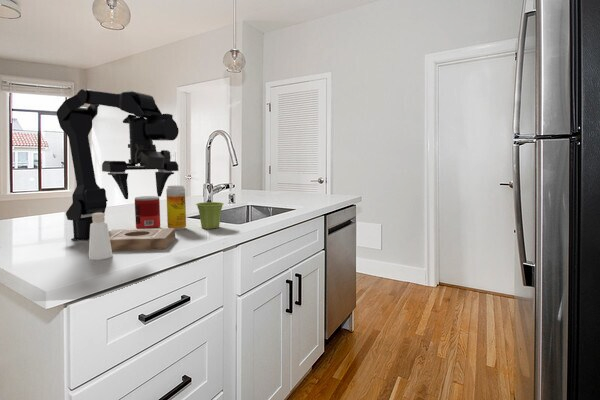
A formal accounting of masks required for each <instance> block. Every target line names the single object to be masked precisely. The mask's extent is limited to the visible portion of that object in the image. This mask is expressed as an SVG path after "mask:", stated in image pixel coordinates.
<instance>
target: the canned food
mask: <svg viewBox="0 0 600 400" xmlns="http://www.w3.org/2000/svg"><path fill="white" fill-rule="evenodd" d="M160 201H161V200H160V197H158V195H145V196H136V197H134V213H135V215H134V216H135V218H134V219H135V229H158V228H160V227H161V207H160V206H161V205H160V203H161V202H160Z"/></svg>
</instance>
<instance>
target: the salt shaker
mask: <svg viewBox="0 0 600 400" xmlns="http://www.w3.org/2000/svg"><path fill="white" fill-rule="evenodd" d="M105 215H106V214H105V213H93V214H92V220H93V223H91V224H90V240H88V241H89V246H88V259H89V261H90V260H91V261H100V260H108V259H109V258H113V257H114V256H113V255H114V254H113V251H112V249H111V243H110V237H109V225H108V223H107V222H106V220H105Z"/></svg>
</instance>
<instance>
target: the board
mask: <svg viewBox="0 0 600 400" xmlns="http://www.w3.org/2000/svg"><path fill="white" fill-rule="evenodd" d="M108 231H109V230H108ZM109 237H110V243H111V249H112V252H113V251H114V252H115V251H120V252H121V251H144V250H145V251H146V250H148V251H149V250H151V251H152V250H166V249H167V248H168V247H169V246H170V245H171V243H172V242H173V241H174V240H175V239H176V230H175V228H168V227H166V228H165V227H163V228H162V227H161V228H158V229H137V228H131V229H130V228H121V229H120V228H119V229H115V228H114V229H110V231H109Z"/></svg>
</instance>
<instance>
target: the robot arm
mask: <svg viewBox="0 0 600 400" xmlns="http://www.w3.org/2000/svg"><path fill="white" fill-rule="evenodd" d="M86 104H88V105H89V106H88V107H84V105H86ZM100 106H105V107H111V108H118V109H120V111H123V112H126V113H128V115H127V116H126V117H125V118H124V119H122V123H123V124H127V125H128V129H129V143H128V144H127V148H128V149H129V151H130V152H129V153H130V154H129V155H130V158H129V159H128V163H127V162H126V161H125V160H104V161H103V162H102V164H101V171H102V172H104V173H107V175H108V176H111V177H112V178H113V180H114V182H116V184H117V187H118V188H119V190H120V192H121V194H122V195H123V198H124V199H125V200H128V199H129V188H128V177H129V173H126V171H128V170H131V171H134V170H135V171H137V170H139V171H142V170H145V171H146V170H157V171H155V172H154V173H155V174H154V175H155V185H156V194H157V195H156V196H158V197H159V198H160V197H162V194H163V193H164V192H163V191H164V189H165V185H166V182H167V181H168V179H169V178H170V177H171V176H172V175H174V174H175V172H179V163H178V162H177V161H175V160H172V161H171V158H172V157H171V151H169V150H167V149H166V150H165V149H162V150H160V151H157V146H156V144H154V141H175V140H176V139H177V138H178V135H179V132H180V131H179V130H180V129H179V127H178V123H177V121H175V120H174V119H173V117H174V116H173V114H171V113H162V112H161V110H160V109H159V107H158V105H157V104H156V100H155V98H154V97H153V96H152V95H150V94H146V93H141V92H137V91H133V90H131V91H129V90H128V91H122V92H121V93H112V92H106V91H98V90H93V89H89V88H82V89H80V90H79V91H78V92H77V93H76V94H74V95H72V96H71V97H69V98H67V99H65V100H64V101H63V102H62V103H61V104H60V106H59V107H58V108H57V110H56V117H57V120H58V123H59V126H60V127H59V128H60V129H61V130H62V131H63V132H64V133H65V135H66V136H67V137H68V142H69V147H70V153H71V159H72V165H73V169H74V176H75V181H76V187H75V188H74V191H73V193H72V194H71V195H72V203H71V205H70V206H69V207H68V209H67V211H66V212H65V216H66V219H67V220H68V221H72V229H73V237H72V238H71V239H70V241H89V240H90V224H91V223H93V220H92V214H93V213H104V214H105V213H106V210H107V209H106V208H107V204H108V203H107V202H108V198H107V193H106V192H107V191H106V189H105V188H104V187H102V188H101V187H100V186H99V185H98V184H97V181H96V180H97V179H96V174H95V169H94V168H95V167H94V164H93V157H92V152H91V151H92V150H91V143H90V139H89V138H90V137H89V135H90V133H91V131H92V128H93V120H94V119H95V118H96V117H97V115H98V108H99V107H100Z"/></svg>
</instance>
